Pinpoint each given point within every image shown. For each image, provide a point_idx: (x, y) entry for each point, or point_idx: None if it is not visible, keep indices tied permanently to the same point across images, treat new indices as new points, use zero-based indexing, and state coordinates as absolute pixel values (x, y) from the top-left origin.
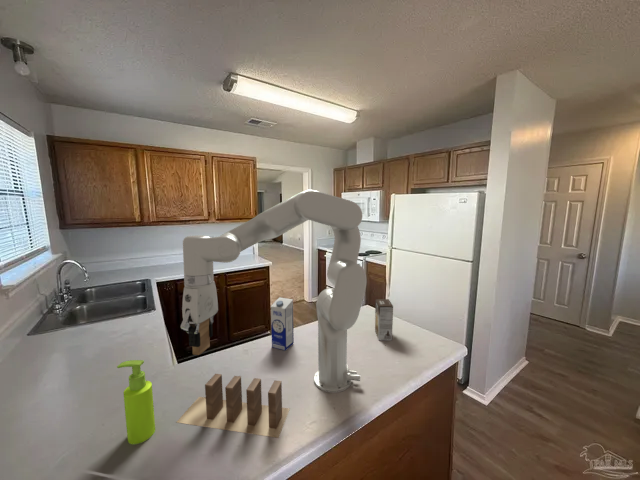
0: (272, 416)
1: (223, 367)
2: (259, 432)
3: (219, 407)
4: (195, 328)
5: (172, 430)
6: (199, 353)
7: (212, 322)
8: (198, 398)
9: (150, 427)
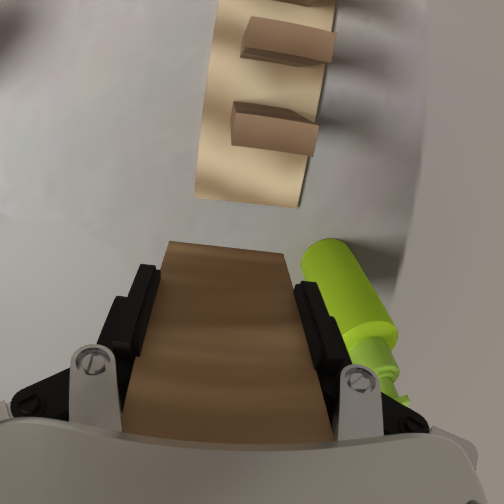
0: None
1: (49, 197)
2: None
3: (255, 104)
4: (378, 413)
5: (317, 203)
6: (279, 257)
7: (89, 350)
8: (202, 195)
9: (342, 252)
